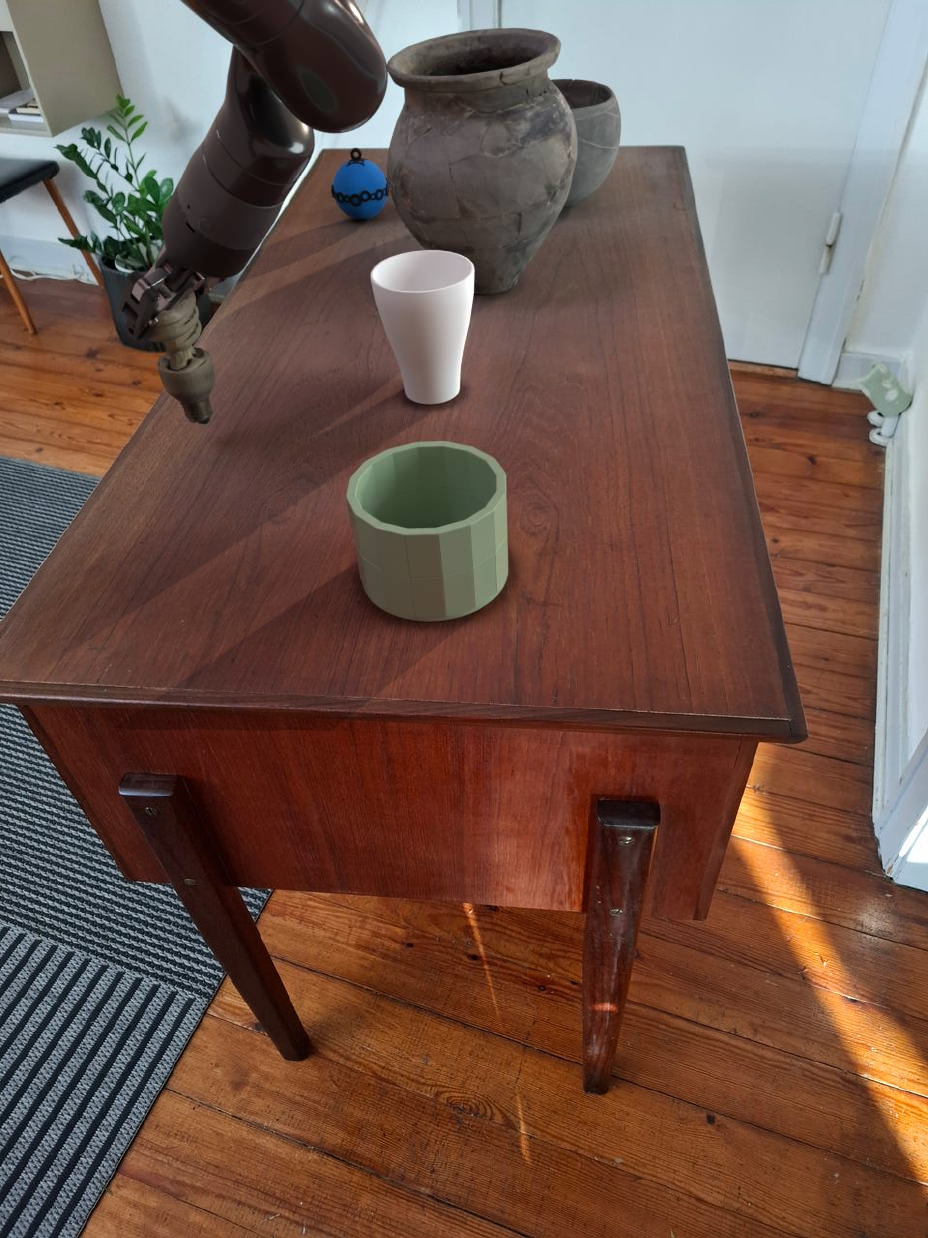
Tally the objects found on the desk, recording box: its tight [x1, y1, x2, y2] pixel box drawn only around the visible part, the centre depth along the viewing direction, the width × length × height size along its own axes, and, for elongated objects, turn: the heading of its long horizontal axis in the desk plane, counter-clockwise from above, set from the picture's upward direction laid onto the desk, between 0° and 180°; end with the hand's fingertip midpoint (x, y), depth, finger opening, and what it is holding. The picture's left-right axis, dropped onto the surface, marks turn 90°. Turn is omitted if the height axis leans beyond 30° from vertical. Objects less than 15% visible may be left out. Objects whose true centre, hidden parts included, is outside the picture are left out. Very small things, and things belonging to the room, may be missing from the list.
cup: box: [370, 249, 475, 405], centre depth 94 cm, size 10×10×14 cm
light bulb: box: [148, 284, 216, 426], centre depth 86 cm, size 6×6×15 cm
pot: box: [345, 440, 509, 623], centre depth 74 cm, size 13×13×9 cm
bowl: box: [550, 78, 622, 209], centre depth 134 cm, size 21×21×15 cm
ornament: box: [330, 147, 390, 221], centre depth 135 cm, size 9×9×10 cm
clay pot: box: [386, 27, 578, 296], centre depth 107 cm, size 23×25×30 cm
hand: (158, 320), depth 85 cm, fingers closed on light bulb, 5 cm apart
